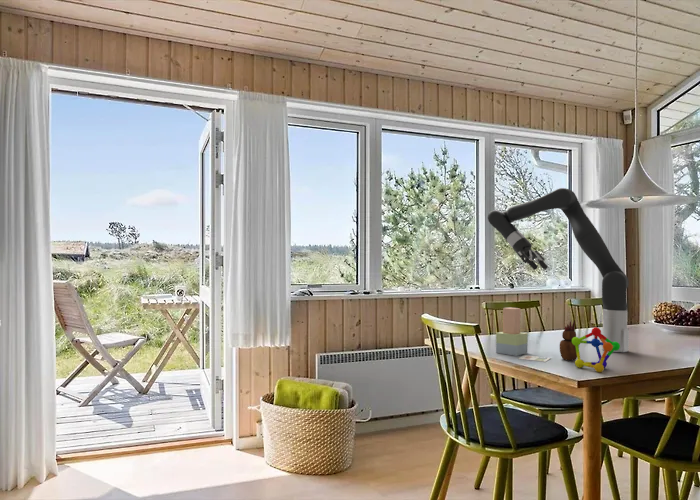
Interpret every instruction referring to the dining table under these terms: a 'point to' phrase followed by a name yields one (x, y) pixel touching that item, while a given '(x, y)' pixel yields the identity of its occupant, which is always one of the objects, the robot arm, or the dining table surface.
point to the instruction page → (534, 358)
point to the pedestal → (511, 343)
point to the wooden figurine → (568, 343)
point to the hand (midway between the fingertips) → (541, 268)
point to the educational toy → (596, 342)
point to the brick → (511, 320)
